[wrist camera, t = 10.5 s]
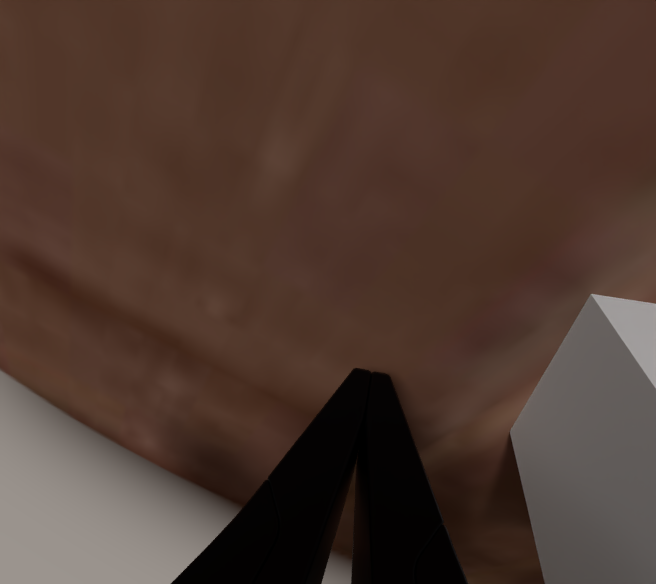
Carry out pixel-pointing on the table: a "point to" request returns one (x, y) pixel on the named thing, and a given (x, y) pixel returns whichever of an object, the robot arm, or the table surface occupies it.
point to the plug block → (594, 449)
